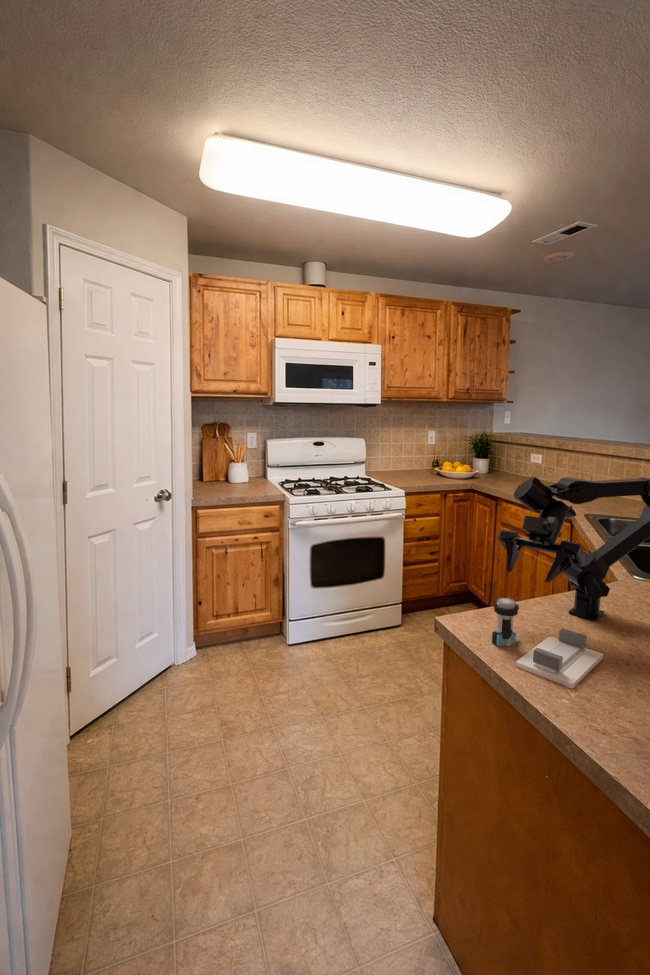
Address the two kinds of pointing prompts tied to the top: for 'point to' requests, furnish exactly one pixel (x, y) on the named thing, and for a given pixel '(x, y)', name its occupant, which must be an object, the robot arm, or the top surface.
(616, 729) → the top surface
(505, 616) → the push button
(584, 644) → the rail board
